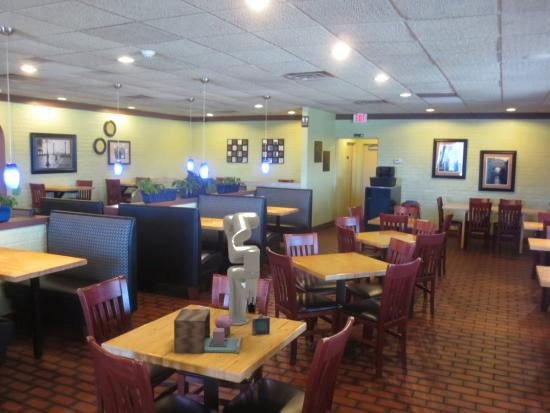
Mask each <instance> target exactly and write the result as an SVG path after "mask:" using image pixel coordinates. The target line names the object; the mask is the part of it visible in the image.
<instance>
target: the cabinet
mask: <svg viewBox="0 0 550 413" xmlns="http://www.w3.org/2000/svg"><path fill="white" fill-rule="evenodd" d="M173 335H174V336H173V342H174V344H173V345H174V347H173V349H174V351H173V352H174V353H175V354H205V353H206V352H205V342H204V341H205V339H206V338H211V308H181V310H180V311H179V312H178V313H177V315H176V317H175V318H174V319H173Z"/></svg>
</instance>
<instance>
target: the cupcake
mask: <svg viewBox="0 0 550 413" xmlns="http://www.w3.org/2000/svg"><path fill="white" fill-rule="evenodd" d="M232 324H233V322H232V319H231V318H230V317H229V315H219V316H218V317H217V318H216V319H215V322H214V325H215V328H225V337H227V336H229V335H230V334H231V326H233V325H232Z"/></svg>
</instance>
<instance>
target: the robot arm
mask: <svg viewBox="0 0 550 413" xmlns="http://www.w3.org/2000/svg"><path fill="white" fill-rule="evenodd" d="M259 225H260V217H259V215H258V213H257V212H255V211H248V212H246V211H242V212H235V213H234V214H227V215H225V216H223V218H222V226H223V230H224V232H225V235H226V238H227V248H228V260H229V262H230V263H231V264H243V265H232V266H229V268H227V270H226V271H227V273H226V276H227V282H228V316H229V317H230V318H231V319H232V322H233V324H232V325H231V326H243V325H246V324H249V322H250V320H249V318H248V317H247V313H248V314H251V313H252V314H254V313H255V312H256V303H255V301H256V297H257V292H258V280H259V279H260V268H261V267H260V265H261V264H260V262H261V261H260V256H261V252H260V251H261V250H260V248H259V247H258V246H257V245H244V242H246V241H248V240H249V239H250V238H251V237H252V234H253V233H252V230H253V229H257V228H258V227H259ZM243 284H245V287H244V285H243ZM247 300H248V304H247ZM247 311H248V312H247Z"/></svg>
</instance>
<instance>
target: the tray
mask: <svg viewBox="0 0 550 413" xmlns="http://www.w3.org/2000/svg"><path fill="white" fill-rule="evenodd" d="M242 340H243V333H241V332H239V335H238V337H236V338H235V337H230V338H229V337H225V342H224V345H213V337H210V338H206V339H205V340H204V342H205V353H236V354H239V353H240V350H241V345H242V342H243V341H242Z"/></svg>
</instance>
